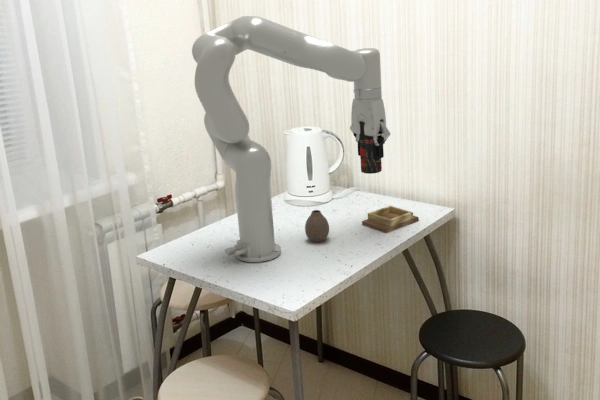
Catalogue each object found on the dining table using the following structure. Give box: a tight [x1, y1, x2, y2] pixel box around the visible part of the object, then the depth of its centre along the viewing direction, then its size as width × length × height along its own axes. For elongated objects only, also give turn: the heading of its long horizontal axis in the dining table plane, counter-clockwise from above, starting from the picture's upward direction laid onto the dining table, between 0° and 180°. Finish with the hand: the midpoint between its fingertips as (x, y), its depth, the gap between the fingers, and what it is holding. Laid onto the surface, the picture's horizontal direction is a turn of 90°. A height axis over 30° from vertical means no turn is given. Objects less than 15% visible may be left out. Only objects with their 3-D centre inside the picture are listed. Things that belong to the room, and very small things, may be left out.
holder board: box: [361, 205, 420, 234], centre depth 199 cm, size 14×10×3 cm
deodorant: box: [359, 121, 383, 174], centre depth 188 cm, size 6×6×15 cm
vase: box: [304, 209, 330, 243], centre depth 189 cm, size 7×7×9 cm
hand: (370, 156), depth 189 cm, fingers closed on deodorant, 5 cm apart
